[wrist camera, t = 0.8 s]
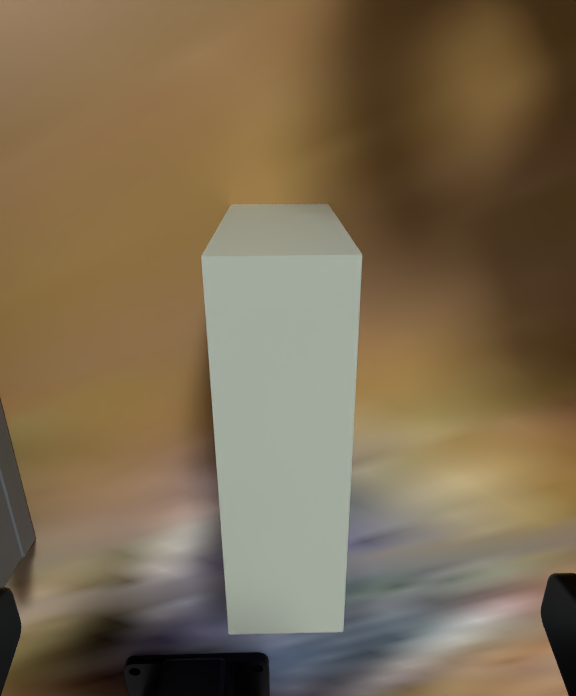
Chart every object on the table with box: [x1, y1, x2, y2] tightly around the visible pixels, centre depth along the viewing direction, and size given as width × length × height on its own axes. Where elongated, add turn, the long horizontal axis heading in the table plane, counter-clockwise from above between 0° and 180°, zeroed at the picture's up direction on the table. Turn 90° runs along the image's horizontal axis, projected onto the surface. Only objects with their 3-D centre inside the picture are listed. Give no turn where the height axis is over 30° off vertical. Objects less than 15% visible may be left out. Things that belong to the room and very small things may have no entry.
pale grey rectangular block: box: [201, 204, 362, 635], centre depth 15 cm, size 10×3×7 cm, turn 0°
